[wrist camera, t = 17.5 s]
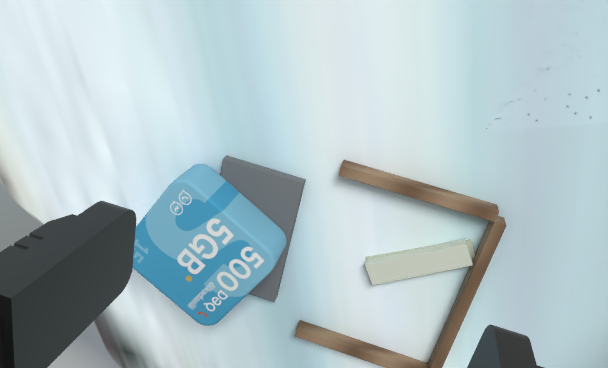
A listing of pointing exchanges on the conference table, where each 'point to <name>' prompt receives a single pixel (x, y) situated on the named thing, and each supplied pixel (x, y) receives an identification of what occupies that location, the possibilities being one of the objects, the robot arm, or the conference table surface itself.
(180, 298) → the data package
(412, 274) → the beige rectangular bar
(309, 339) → the brown wooden frame
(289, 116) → the conference table surface
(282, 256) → the rubber mat
